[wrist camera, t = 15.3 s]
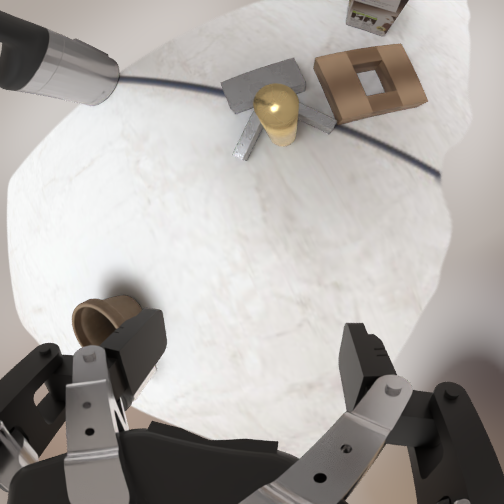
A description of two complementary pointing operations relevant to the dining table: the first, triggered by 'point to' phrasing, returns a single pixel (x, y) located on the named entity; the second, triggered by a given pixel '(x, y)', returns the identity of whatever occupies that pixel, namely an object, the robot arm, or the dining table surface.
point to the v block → (248, 84)
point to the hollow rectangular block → (351, 91)
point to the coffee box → (374, 14)
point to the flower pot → (102, 318)
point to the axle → (278, 112)
